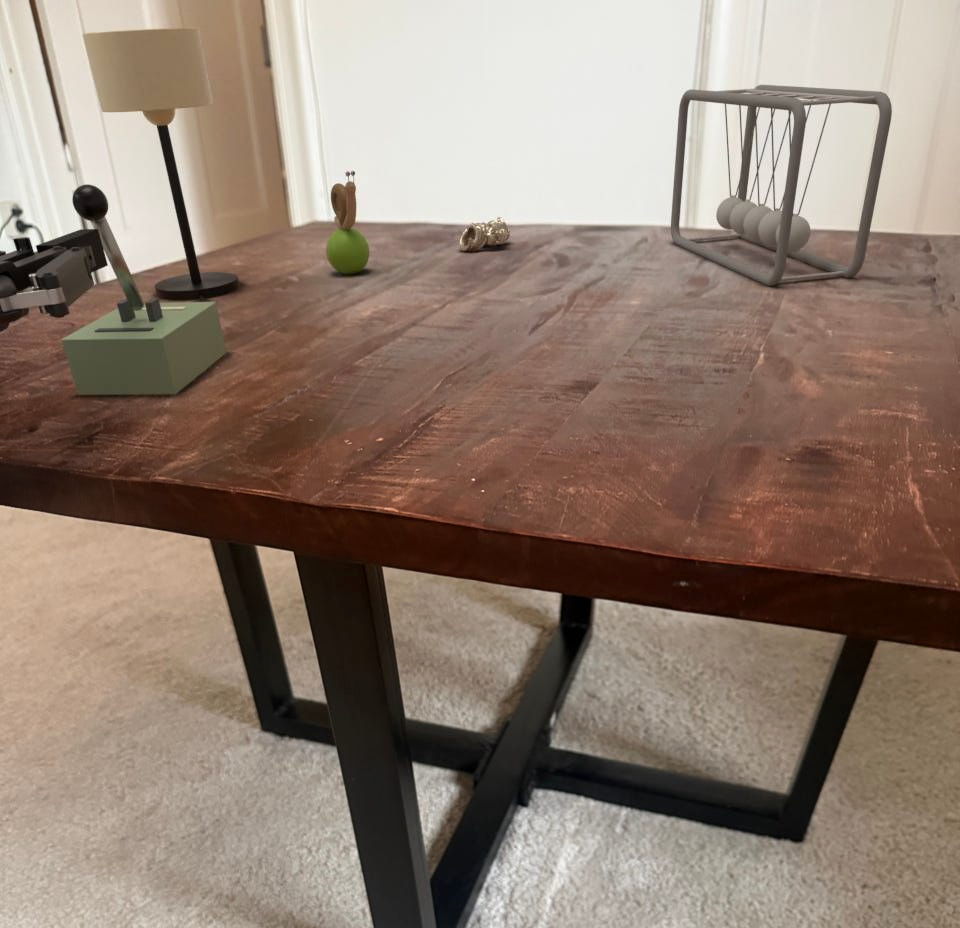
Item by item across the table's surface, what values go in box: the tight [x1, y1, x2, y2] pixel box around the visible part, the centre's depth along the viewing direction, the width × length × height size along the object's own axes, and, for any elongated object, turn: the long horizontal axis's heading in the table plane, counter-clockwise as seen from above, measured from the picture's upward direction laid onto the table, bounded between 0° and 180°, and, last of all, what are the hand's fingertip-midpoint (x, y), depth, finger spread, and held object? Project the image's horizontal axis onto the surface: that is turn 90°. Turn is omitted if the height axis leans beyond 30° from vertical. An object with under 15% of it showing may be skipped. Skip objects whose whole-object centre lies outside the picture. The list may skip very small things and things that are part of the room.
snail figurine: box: [325, 170, 370, 276], centre depth 108 cm, size 5×6×12 cm
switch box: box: [60, 297, 227, 396], centre depth 78 cm, size 12×9×7 cm
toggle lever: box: [71, 183, 145, 311], centre depth 72 cm, size 3×3×11 cm
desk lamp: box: [82, 27, 240, 302], centre depth 97 cm, size 20×12×26 cm, turn 24°
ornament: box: [458, 216, 511, 252], centre depth 120 cm, size 8×7×4 cm
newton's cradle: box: [670, 84, 893, 287], centre depth 102 cm, size 30×10×18 cm, turn 12°
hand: (94, 247), depth 69 cm, fingers closed
